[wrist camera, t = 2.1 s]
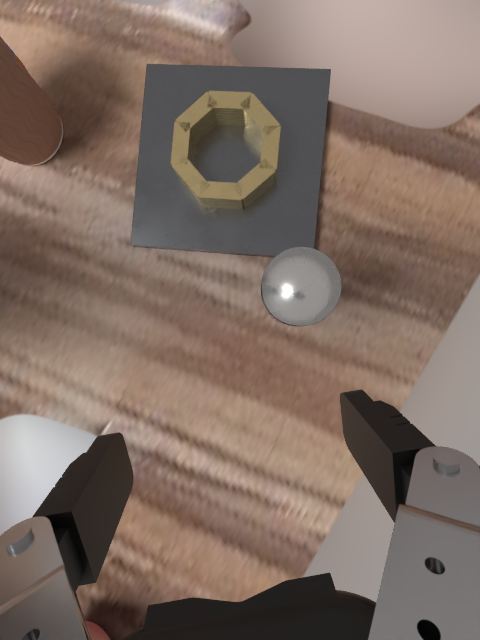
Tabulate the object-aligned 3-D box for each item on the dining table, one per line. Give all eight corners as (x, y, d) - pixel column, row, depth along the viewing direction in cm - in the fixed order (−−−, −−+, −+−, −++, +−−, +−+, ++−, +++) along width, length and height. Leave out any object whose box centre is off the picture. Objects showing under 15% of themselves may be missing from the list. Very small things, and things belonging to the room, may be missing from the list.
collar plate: (133, 246, 33) (119, 238, 29) (149, 70, 32) (136, 41, 29) (311, 260, 31) (317, 253, 28) (329, 75, 31) (336, 46, 28)
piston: (260, 321, 32) (257, 322, 20) (264, 272, 31) (264, 243, 20) (310, 326, 31) (338, 330, 19) (315, 276, 31) (345, 249, 19)
